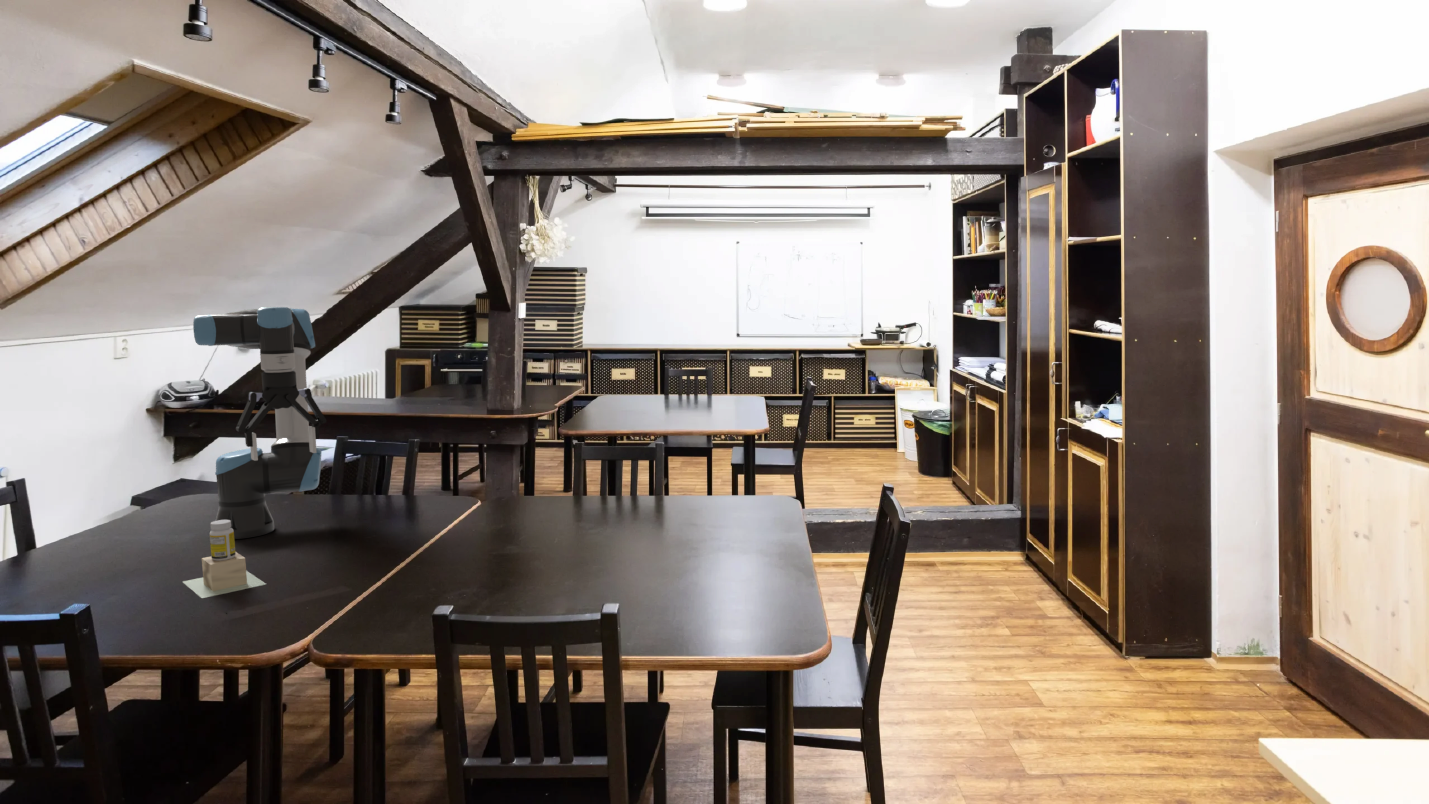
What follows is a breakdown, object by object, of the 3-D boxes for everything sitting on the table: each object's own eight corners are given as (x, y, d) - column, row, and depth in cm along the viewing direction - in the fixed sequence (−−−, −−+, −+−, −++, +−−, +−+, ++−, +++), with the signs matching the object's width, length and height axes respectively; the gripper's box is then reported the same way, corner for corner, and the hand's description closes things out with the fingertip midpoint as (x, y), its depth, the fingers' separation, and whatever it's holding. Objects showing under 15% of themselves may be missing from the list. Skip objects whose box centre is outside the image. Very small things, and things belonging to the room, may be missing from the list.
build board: (182, 586, 199) (182, 581, 199) (244, 573, 208) (244, 568, 208) (202, 603, 187) (201, 598, 187) (266, 589, 197) (266, 584, 196)
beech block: (203, 583, 197) (201, 558, 196) (237, 576, 202) (235, 551, 201) (212, 591, 192) (210, 564, 191) (247, 583, 197) (245, 557, 196)
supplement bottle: (229, 553, 199) (226, 518, 198) (239, 557, 197) (237, 520, 196) (207, 559, 195) (204, 522, 194) (217, 562, 193) (214, 525, 192)
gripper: (225, 375, 201) (233, 465, 204) (336, 368, 218) (341, 451, 221) (217, 373, 207) (224, 460, 210) (325, 366, 224) (330, 447, 227)
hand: (284, 456), depth 215 cm, fingers open, 13 cm apart
